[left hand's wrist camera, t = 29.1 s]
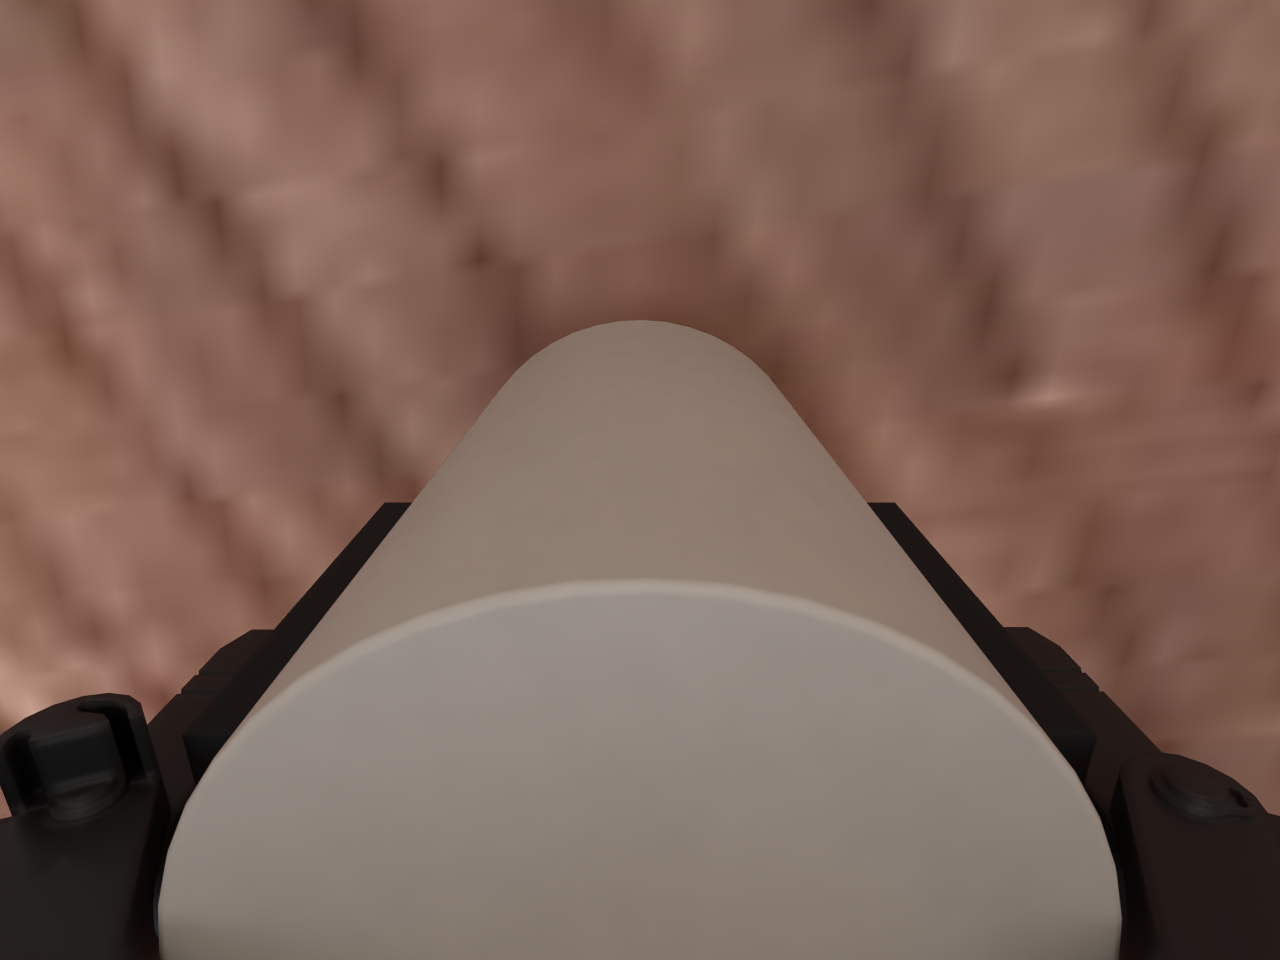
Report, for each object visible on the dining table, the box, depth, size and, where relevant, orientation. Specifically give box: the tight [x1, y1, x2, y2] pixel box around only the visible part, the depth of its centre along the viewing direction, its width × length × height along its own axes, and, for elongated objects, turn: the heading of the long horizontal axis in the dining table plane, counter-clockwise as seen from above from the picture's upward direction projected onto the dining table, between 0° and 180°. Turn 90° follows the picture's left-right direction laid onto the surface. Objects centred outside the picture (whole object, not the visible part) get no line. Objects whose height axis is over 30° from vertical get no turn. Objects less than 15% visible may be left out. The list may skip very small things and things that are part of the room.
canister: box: [158, 320, 1122, 960], centre depth 12 cm, size 8×8×12 cm
